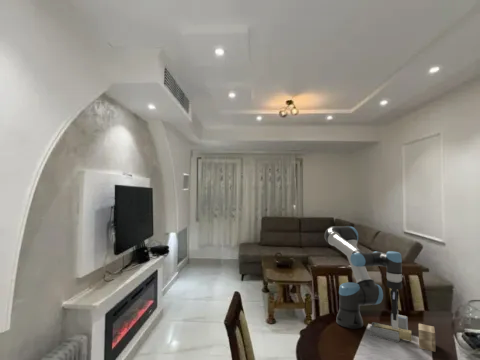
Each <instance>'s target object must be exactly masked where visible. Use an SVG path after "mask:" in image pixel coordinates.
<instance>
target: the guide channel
mask: <svg viewBox="0 0 480 360" xmlns="http://www.w3.org/2000/svg"><path fill="white" fill-rule="evenodd" d="M374 323H375V322H373V321H372V322H371V325H370V327H369V329H370V333H369V334H370V336H371V337H375V338H379V339H383V340H388V341H392V342H396V343H399V342H400V340H401V339H399V332H397V331H392V330H388V329H383V328H378V327H374ZM377 323H378V322H377ZM378 324H380V323H378ZM383 325H385V324H384V323H383ZM386 325H387V326H389V325H388V324H386Z"/></svg>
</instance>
